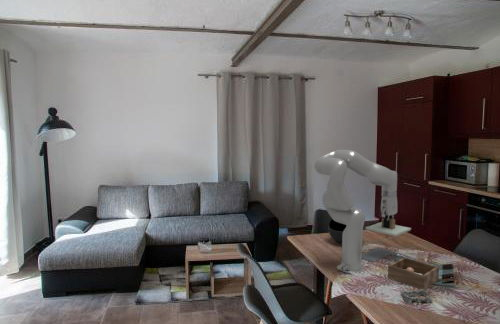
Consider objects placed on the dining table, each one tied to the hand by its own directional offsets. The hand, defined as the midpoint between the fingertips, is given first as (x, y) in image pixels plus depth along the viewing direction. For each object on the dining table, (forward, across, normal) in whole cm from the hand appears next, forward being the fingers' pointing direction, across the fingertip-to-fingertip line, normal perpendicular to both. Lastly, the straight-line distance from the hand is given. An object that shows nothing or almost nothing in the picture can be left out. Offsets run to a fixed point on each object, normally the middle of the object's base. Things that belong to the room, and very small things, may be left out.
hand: (388, 226), depth 180 cm
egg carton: (+18, -36, -31) cm, 51 cm away
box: (+18, -18, -22) cm, 34 cm away
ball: (+17, -15, -19) cm, 29 cm away
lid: (+2, 0, 0) cm, 2 cm away
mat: (+18, 0, 0) cm, 18 cm away
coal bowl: (+18, +4, +30) cm, 35 cm away
